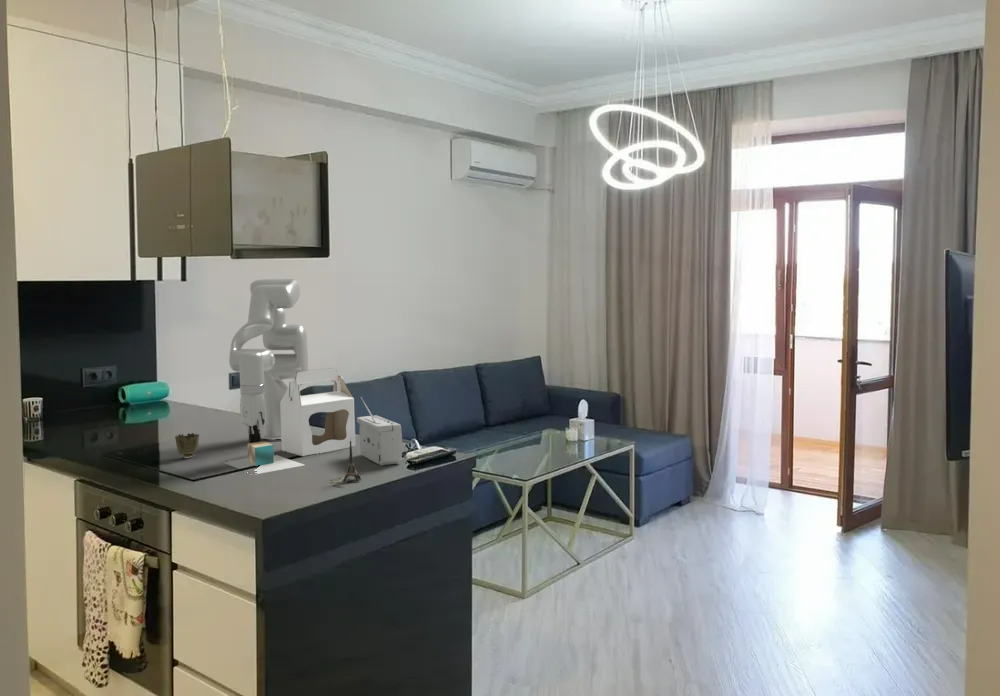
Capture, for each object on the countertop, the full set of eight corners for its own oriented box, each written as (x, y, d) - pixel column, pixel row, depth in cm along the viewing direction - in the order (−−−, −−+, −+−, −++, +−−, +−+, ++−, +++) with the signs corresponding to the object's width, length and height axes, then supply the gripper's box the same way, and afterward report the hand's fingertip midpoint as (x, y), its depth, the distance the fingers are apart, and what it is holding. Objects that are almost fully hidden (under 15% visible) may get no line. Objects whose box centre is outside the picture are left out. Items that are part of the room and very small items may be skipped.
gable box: (334, 441, 292) (332, 365, 290) (356, 446, 283) (354, 368, 281) (280, 451, 276) (278, 371, 274) (302, 457, 267) (299, 374, 265)
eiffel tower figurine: (360, 474, 245) (359, 431, 244) (381, 479, 238) (380, 435, 237) (319, 484, 233) (318, 439, 232) (341, 490, 227) (339, 443, 226)
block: (247, 443, 257) (255, 447, 253) (265, 440, 261) (273, 445, 257) (247, 461, 258) (255, 466, 254) (265, 458, 262) (273, 463, 257)
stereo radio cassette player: (403, 464, 255) (402, 402, 253) (379, 467, 251) (377, 404, 249) (379, 452, 273) (378, 394, 271) (356, 455, 269) (355, 396, 267)
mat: (219, 462, 260) (219, 461, 260) (271, 454, 272) (271, 453, 272) (252, 475, 242) (252, 474, 242) (305, 465, 254) (305, 465, 254)
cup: (199, 455, 272) (197, 432, 271) (201, 459, 265) (199, 435, 265) (175, 457, 269) (174, 434, 268) (176, 461, 262) (175, 438, 261)
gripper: (231, 388, 261) (234, 443, 263) (251, 393, 250) (253, 451, 252) (253, 386, 266) (255, 440, 268) (273, 391, 255) (275, 447, 257)
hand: (254, 445), depth 260 cm, fingers closed
